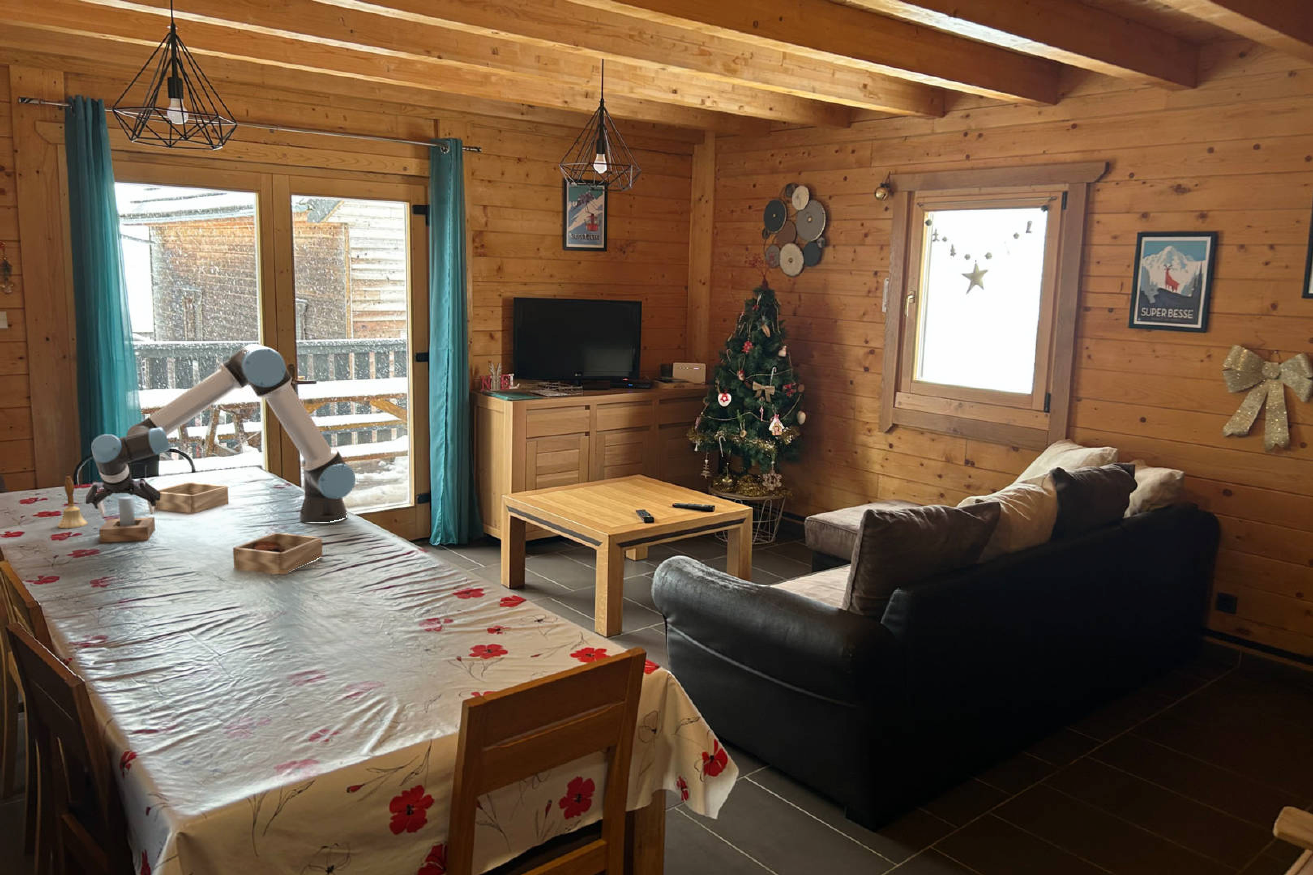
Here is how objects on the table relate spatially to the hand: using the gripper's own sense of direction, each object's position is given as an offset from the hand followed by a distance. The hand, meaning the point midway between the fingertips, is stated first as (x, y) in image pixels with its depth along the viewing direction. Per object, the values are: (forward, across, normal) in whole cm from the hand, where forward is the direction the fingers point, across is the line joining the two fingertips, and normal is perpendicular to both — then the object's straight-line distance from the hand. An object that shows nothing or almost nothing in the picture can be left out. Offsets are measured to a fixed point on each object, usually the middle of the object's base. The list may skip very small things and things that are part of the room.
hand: (128, 511), depth 300 cm
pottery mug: (-27, +43, -38) cm, 63 cm away
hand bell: (+17, -19, +6) cm, 26 cm away
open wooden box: (-26, +45, -36) cm, 63 cm away
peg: (+4, 0, -7) cm, 8 cm away
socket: (+4, 0, -7) cm, 7 cm away
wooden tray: (+31, +13, +20) cm, 39 cm away
